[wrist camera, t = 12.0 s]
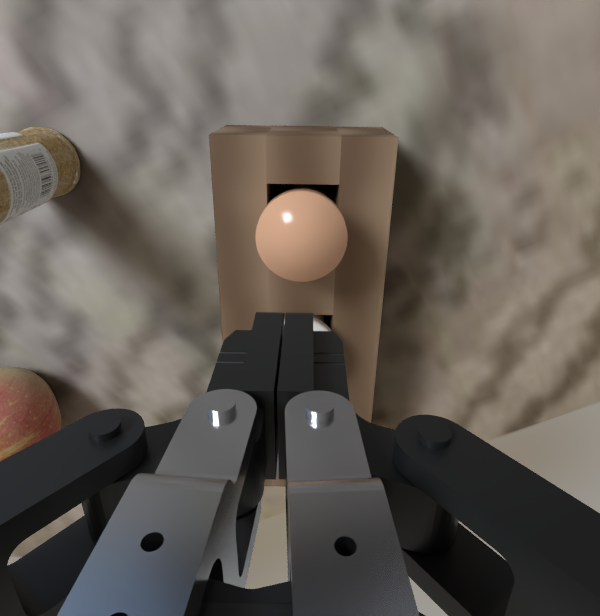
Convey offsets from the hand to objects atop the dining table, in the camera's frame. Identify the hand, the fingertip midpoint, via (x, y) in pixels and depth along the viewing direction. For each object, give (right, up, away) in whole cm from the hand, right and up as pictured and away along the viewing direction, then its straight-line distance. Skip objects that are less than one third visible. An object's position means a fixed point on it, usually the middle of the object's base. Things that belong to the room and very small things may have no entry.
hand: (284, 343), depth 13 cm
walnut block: (+1, +1, +23) cm, 23 cm away
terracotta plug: (+1, +7, +17) cm, 19 cm away
